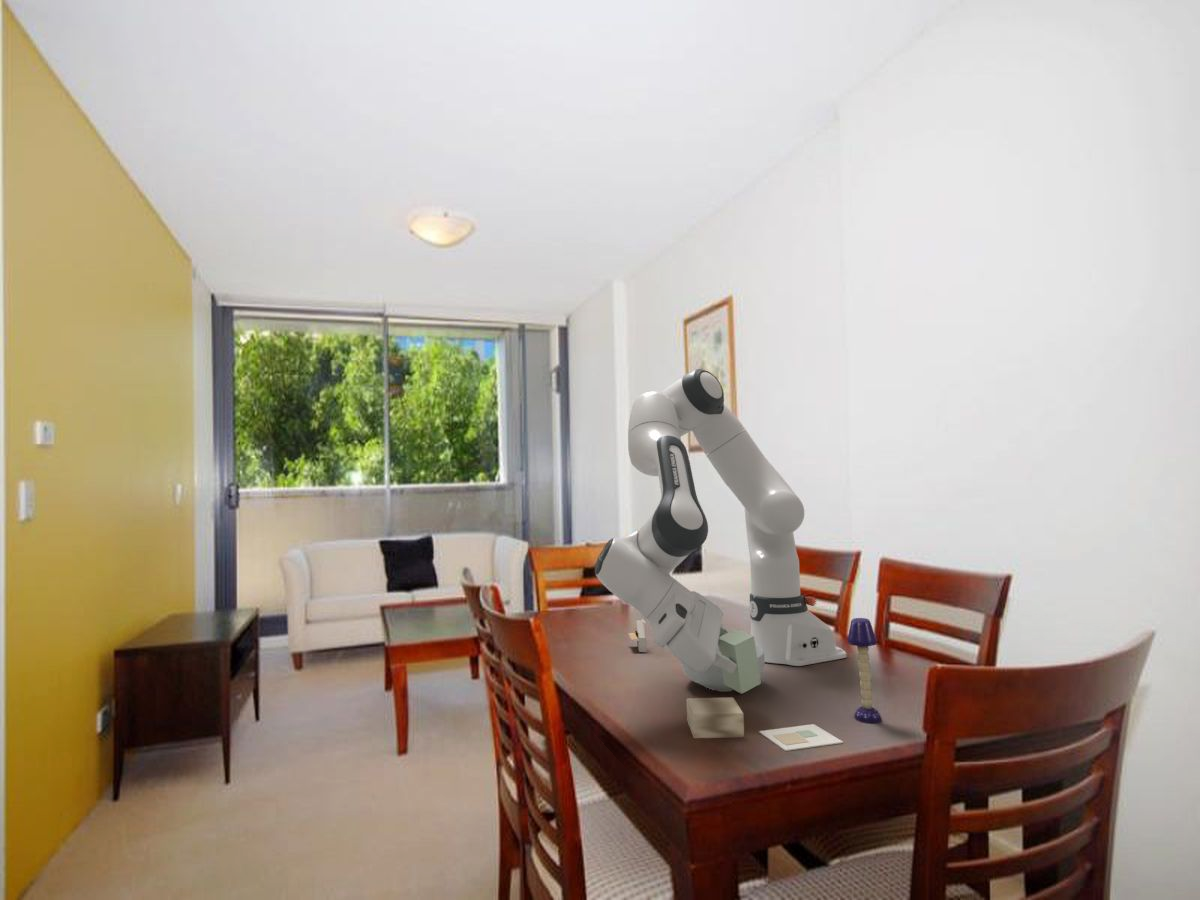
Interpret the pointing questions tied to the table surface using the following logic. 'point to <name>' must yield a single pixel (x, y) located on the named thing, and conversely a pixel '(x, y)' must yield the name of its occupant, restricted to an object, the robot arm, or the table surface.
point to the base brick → (715, 717)
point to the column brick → (740, 660)
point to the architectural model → (640, 635)
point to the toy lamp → (864, 667)
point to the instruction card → (800, 737)
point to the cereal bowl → (717, 673)
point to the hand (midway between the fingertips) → (735, 657)
